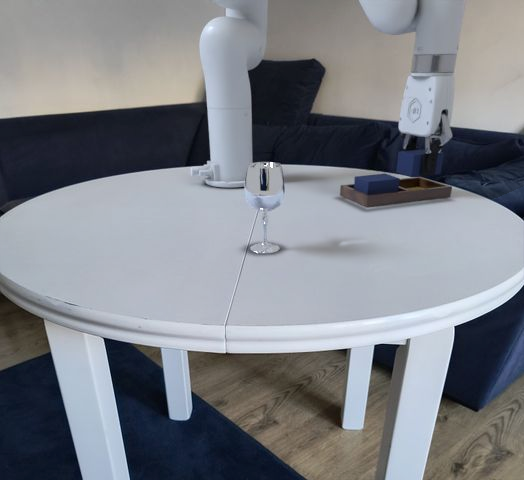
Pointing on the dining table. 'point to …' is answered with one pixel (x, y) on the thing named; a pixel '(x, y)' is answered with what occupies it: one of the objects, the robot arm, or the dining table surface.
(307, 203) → the dining table surface
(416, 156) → the blue rectangular block
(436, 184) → the wooden compartment tray
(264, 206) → the wineglass
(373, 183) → the blue block
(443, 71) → the robot arm
